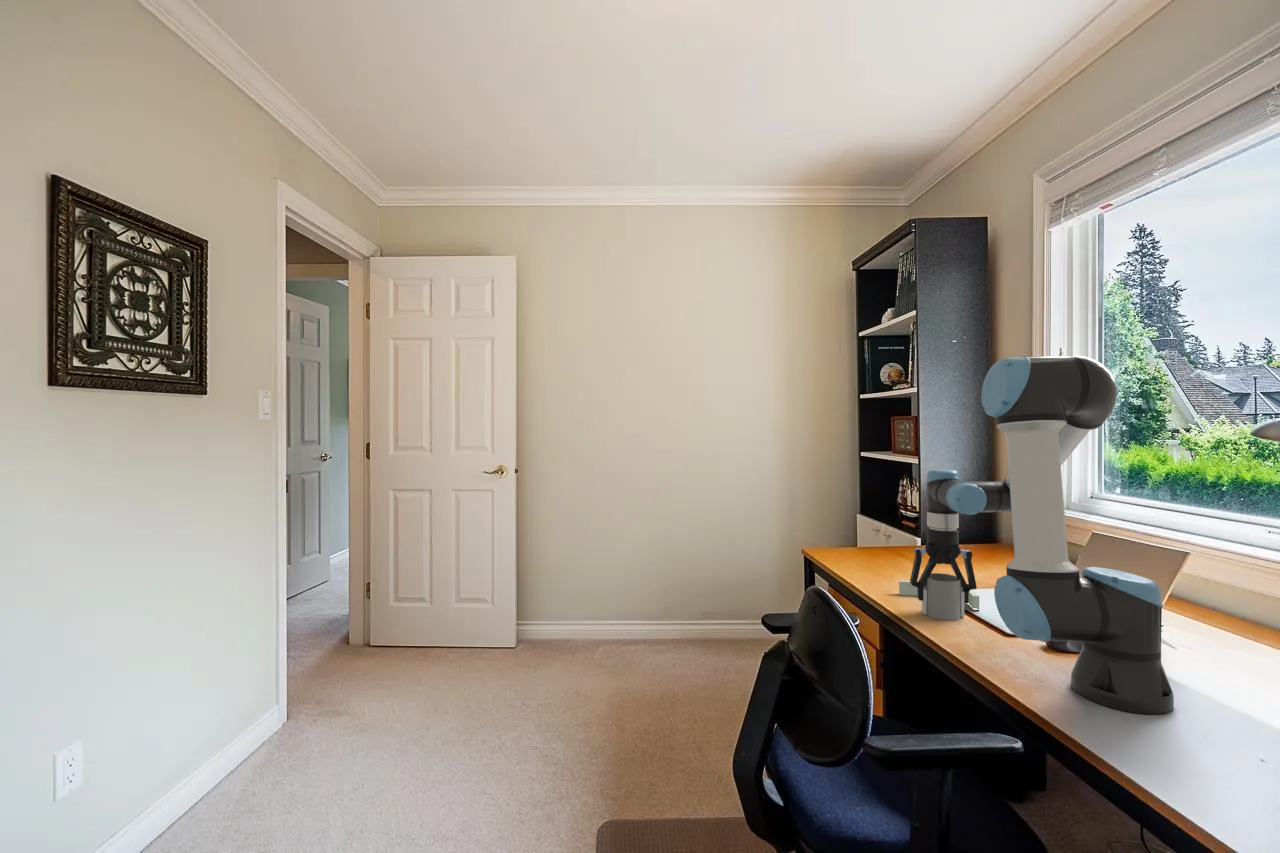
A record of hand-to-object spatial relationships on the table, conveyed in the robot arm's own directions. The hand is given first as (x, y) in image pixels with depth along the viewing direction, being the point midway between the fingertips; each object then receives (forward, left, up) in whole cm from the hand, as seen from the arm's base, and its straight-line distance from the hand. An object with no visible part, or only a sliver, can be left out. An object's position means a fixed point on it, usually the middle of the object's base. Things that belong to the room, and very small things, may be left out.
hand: (942, 613), depth 160 cm
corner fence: (+12, -1, 0) cm, 12 cm away
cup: (0, 0, -1) cm, 1 cm away
